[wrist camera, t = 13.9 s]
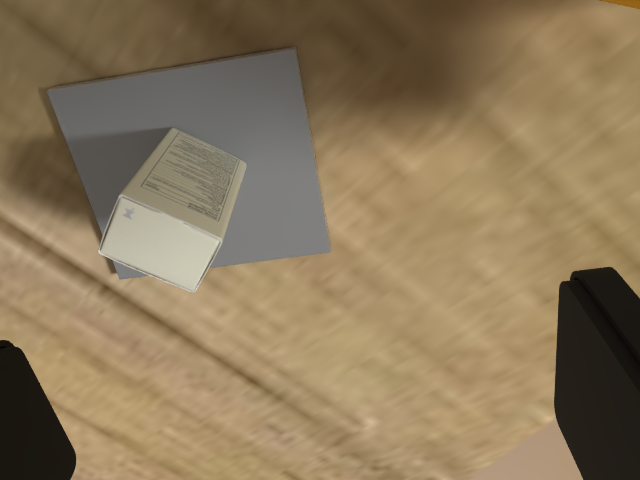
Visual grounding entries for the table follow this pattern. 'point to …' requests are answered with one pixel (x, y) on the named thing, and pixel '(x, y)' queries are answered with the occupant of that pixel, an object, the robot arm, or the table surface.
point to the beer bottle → (626, 3)
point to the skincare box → (175, 211)
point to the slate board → (215, 129)
